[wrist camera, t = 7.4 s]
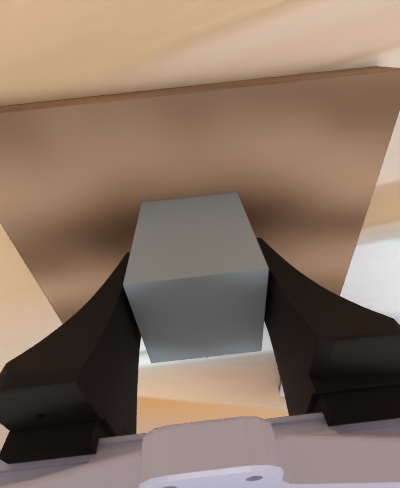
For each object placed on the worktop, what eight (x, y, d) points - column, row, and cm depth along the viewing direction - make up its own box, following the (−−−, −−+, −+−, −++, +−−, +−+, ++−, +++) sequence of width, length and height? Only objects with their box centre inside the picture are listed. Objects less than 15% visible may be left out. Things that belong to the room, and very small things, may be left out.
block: (237, 264, 17) (261, 350, 12) (158, 273, 17) (151, 363, 12) (237, 192, 14) (268, 268, 9) (141, 202, 14) (122, 284, 9)
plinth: (323, 274, 22) (339, 297, 19) (76, 302, 21) (65, 328, 19) (376, 66, 13) (412, 69, 11) (-27, 109, 13) (-64, 119, 11)
